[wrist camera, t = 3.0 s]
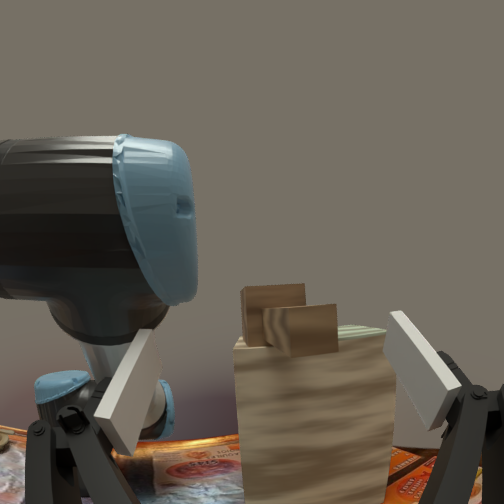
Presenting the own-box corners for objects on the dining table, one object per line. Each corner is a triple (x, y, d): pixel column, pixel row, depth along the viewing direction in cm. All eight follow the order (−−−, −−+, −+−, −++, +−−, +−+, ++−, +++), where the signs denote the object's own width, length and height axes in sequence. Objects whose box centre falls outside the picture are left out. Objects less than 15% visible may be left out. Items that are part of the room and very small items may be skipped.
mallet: (360, 360, 23) (354, 265, 24) (266, 372, 22) (260, 270, 23) (291, 336, 48) (288, 288, 49) (243, 339, 47) (240, 291, 49)
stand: (383, 502, 31) (395, 329, 36) (247, 523, 31) (232, 346, 36) (353, 459, 48) (355, 324, 54) (249, 471, 48) (240, 334, 54)
